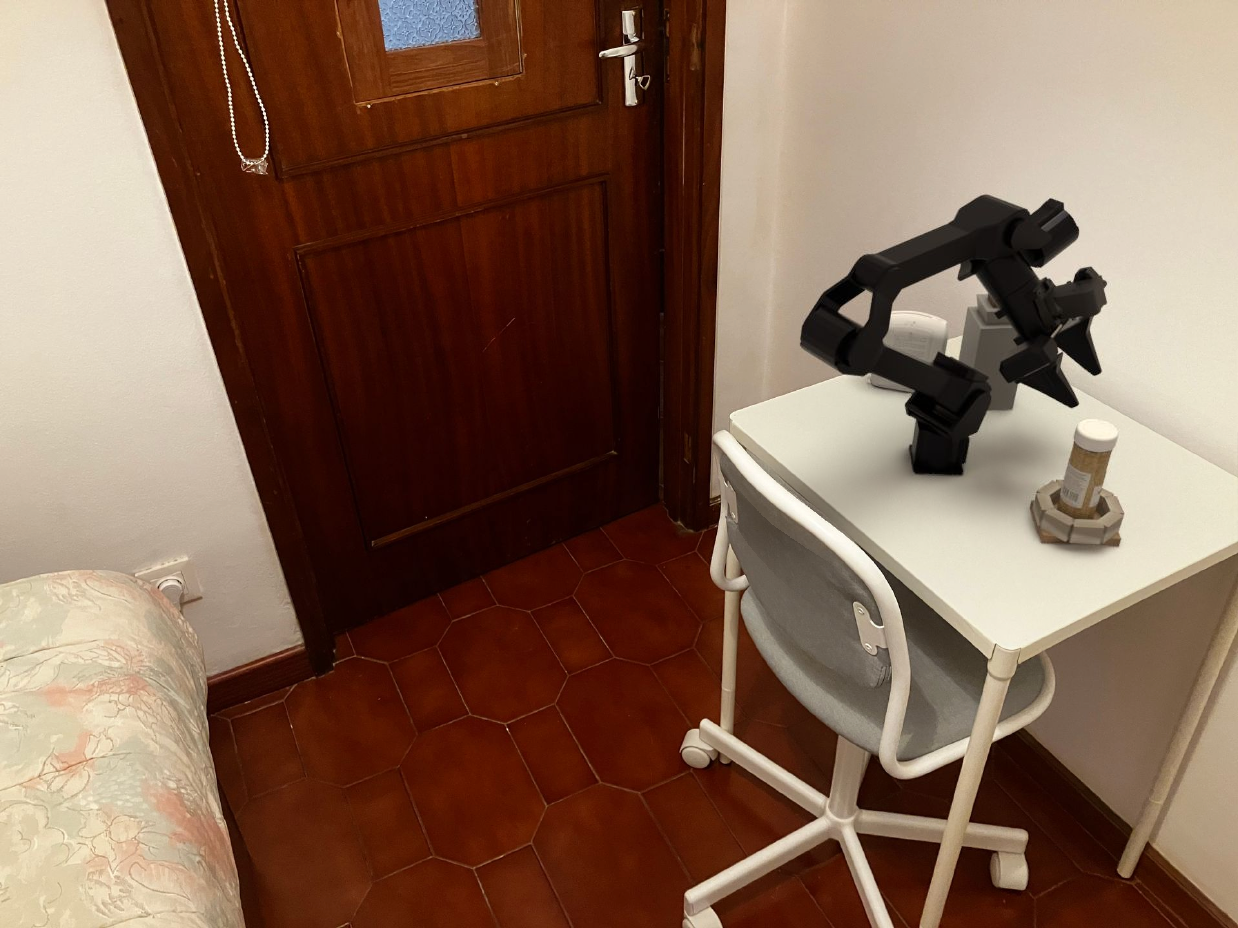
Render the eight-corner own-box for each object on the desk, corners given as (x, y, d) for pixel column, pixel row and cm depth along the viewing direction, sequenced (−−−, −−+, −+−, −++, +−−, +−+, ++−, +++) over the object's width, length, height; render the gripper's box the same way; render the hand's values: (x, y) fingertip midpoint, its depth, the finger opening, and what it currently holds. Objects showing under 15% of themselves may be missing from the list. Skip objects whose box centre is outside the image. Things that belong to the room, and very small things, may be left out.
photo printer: (941, 384, 155) (953, 311, 148) (937, 398, 152) (949, 324, 144) (872, 374, 158) (881, 302, 151) (867, 387, 155) (876, 314, 148)
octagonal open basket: (1041, 549, 123) (1047, 525, 121) (1025, 501, 130) (1031, 478, 128) (1124, 553, 122) (1131, 529, 119) (1103, 504, 129) (1110, 481, 127)
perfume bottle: (1012, 409, 148) (1036, 297, 138) (965, 411, 148) (986, 299, 138) (998, 386, 154) (1021, 276, 143) (953, 387, 154) (972, 278, 143)
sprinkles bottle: (1100, 528, 124) (1127, 436, 116) (1064, 532, 123) (1089, 441, 116) (1080, 505, 127) (1105, 415, 120) (1046, 510, 127) (1069, 419, 119)
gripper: (1045, 284, 113) (1125, 397, 114) (1096, 228, 125) (1168, 331, 126) (966, 329, 122) (1040, 434, 123) (1020, 273, 134) (1088, 368, 135)
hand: (1087, 390), depth 126 cm, fingers open, 9 cm apart
